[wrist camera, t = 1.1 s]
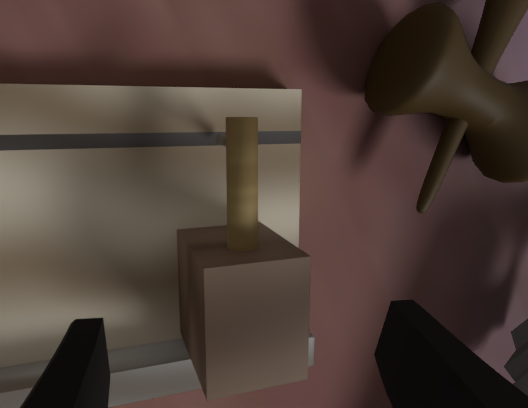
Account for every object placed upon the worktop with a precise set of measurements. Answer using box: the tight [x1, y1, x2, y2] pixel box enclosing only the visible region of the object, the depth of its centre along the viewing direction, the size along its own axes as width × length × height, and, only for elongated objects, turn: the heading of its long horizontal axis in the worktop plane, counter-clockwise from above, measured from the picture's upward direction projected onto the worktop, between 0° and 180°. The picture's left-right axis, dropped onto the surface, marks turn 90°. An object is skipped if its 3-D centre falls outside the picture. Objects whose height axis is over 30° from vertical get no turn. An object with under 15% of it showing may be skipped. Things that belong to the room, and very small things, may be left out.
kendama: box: [365, 0, 528, 213], centre depth 23 cm, size 6×10×20 cm
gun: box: [504, 319, 528, 396], centre depth 29 cm, size 3×25×15 cm, turn 146°
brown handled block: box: [177, 117, 311, 401], centre depth 19 cm, size 10×4×6 cm, turn 0°
